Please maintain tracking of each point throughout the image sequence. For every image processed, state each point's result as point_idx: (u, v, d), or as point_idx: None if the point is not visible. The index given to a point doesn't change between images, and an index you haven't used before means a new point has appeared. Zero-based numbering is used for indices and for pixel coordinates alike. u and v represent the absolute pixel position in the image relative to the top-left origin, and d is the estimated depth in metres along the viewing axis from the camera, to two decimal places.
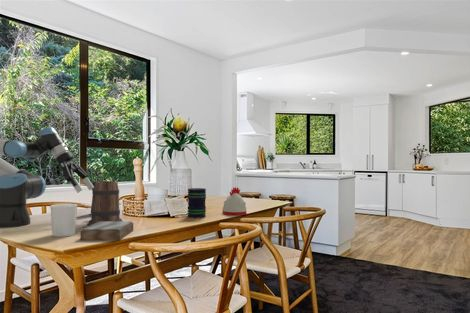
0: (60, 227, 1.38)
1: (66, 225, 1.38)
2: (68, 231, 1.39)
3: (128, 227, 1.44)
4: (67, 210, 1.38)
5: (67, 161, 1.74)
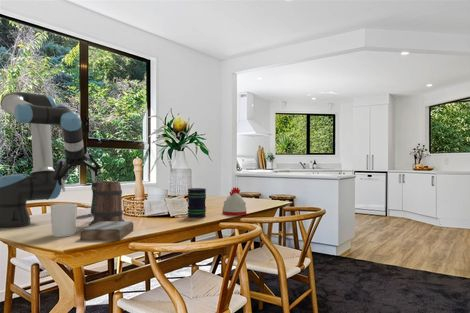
0: (60, 227, 1.38)
1: (66, 225, 1.38)
2: (68, 231, 1.39)
3: (128, 227, 1.44)
4: (67, 210, 1.38)
5: (70, 158, 1.52)
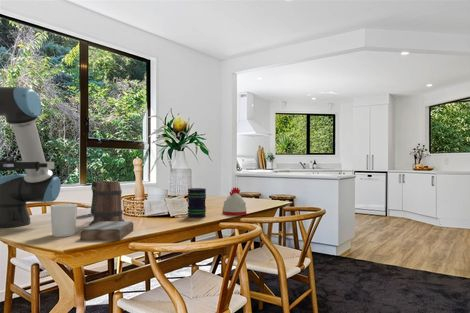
0: (60, 227, 1.38)
1: (66, 225, 1.38)
2: (68, 231, 1.39)
3: (128, 227, 1.44)
4: (67, 210, 1.38)
5: None
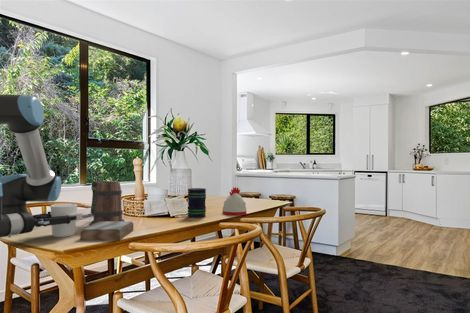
0: (60, 227, 1.38)
1: (66, 225, 1.38)
2: (68, 231, 1.39)
3: (128, 227, 1.44)
4: (67, 210, 1.38)
5: None
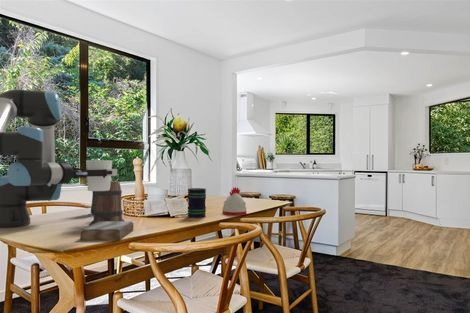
0: (96, 181, 1.37)
1: (102, 179, 1.37)
2: (104, 186, 1.38)
3: (128, 227, 1.44)
4: (102, 164, 1.37)
5: None
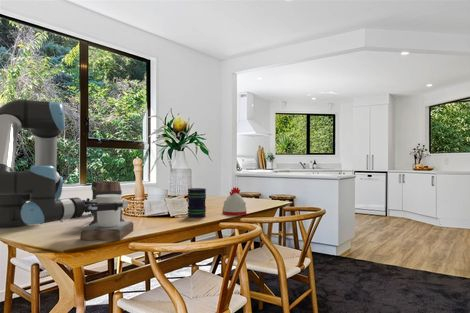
0: (106, 217, 1.38)
1: (112, 215, 1.39)
2: (114, 221, 1.39)
3: (128, 227, 1.44)
4: (113, 201, 1.38)
5: None
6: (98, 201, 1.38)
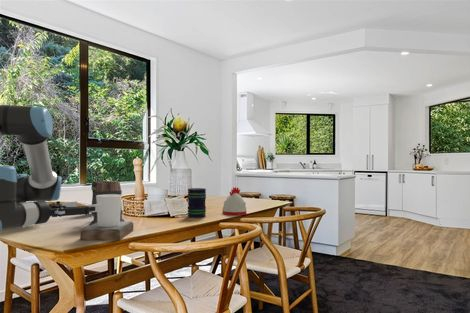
0: (106, 217, 1.38)
1: (112, 215, 1.39)
2: (114, 221, 1.39)
3: (128, 227, 1.44)
4: (113, 200, 1.38)
5: None
6: (98, 201, 1.38)
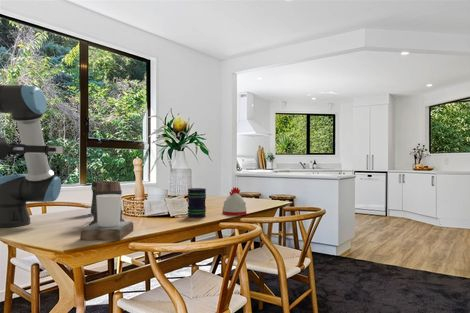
0: (106, 217, 1.38)
1: (112, 215, 1.39)
2: (114, 221, 1.39)
3: (128, 227, 1.44)
4: (113, 201, 1.38)
5: None
6: (98, 201, 1.38)
